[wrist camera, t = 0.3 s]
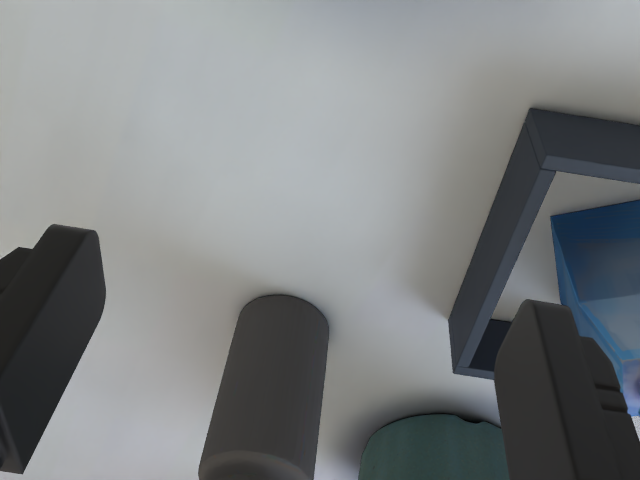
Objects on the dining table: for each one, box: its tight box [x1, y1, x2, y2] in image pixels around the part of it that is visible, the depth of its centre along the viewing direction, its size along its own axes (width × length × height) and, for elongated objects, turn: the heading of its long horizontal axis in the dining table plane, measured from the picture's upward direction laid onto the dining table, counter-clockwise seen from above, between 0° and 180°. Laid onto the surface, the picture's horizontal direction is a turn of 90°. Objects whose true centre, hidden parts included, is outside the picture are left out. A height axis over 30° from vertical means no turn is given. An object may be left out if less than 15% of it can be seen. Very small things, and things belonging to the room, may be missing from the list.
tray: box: [448, 109, 640, 380], centre depth 31 cm, size 14×14×4 cm
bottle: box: [198, 295, 329, 480], centre depth 33 cm, size 6×6×15 cm
